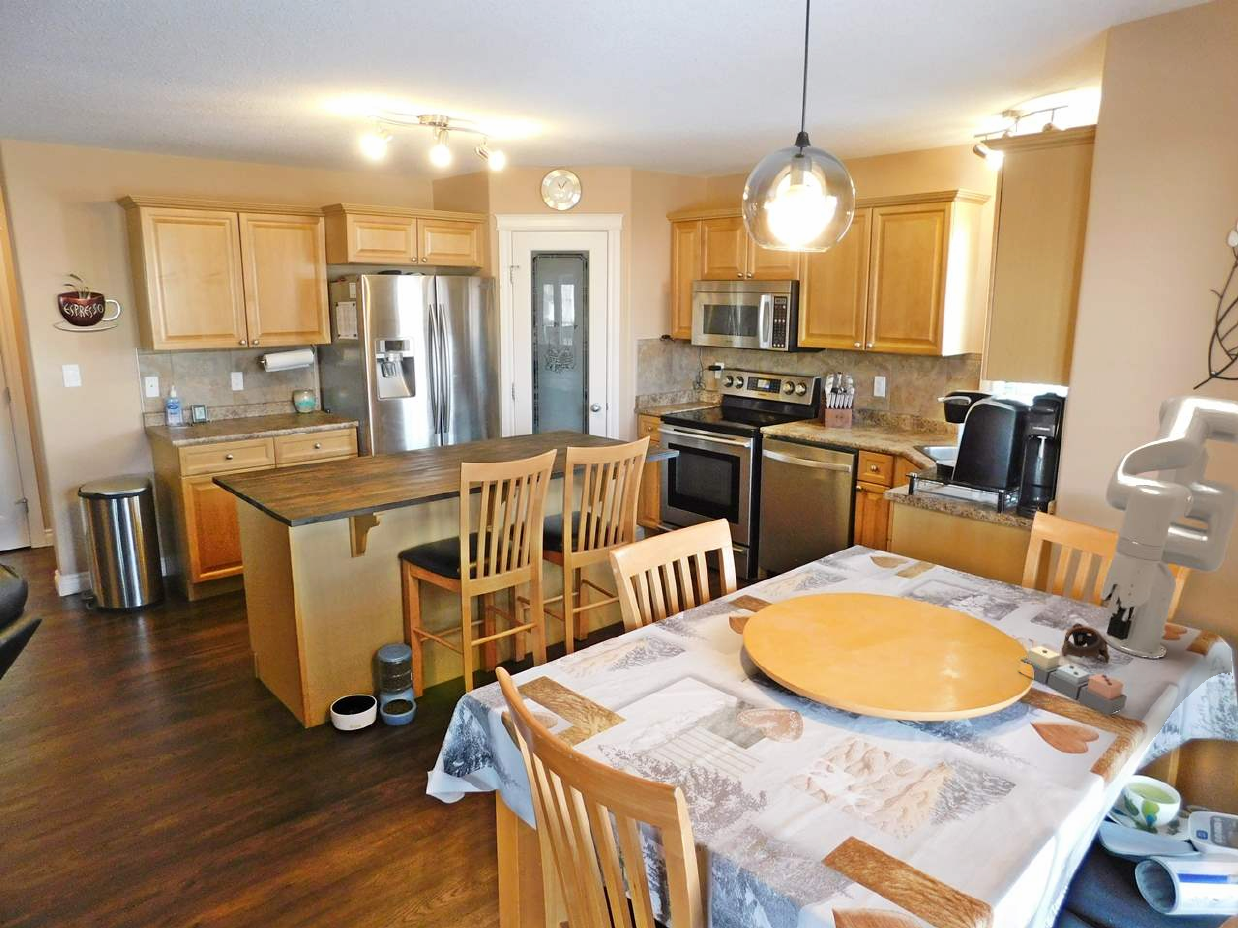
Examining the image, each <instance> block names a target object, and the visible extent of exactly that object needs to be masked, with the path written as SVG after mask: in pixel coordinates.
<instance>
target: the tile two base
mask: <svg viewBox="0 0 1238 928" xmlns="http://www.w3.org/2000/svg"><path fill="white" fill-rule="evenodd" d="M1056 672H1057V671H1055V672H1052V673H1050V675H1049V680H1048V684H1046V686H1047V687H1048V688H1050V689H1052V690H1054V691H1056V692H1057V693H1058V692H1059V693H1060V694H1062V695H1064V696H1066V697H1068V698H1070V699H1072V700H1074V701H1076V700H1078V698H1079V694H1080V690H1081V688H1082V687H1085V686H1087V685H1088V683H1089V679H1090V678H1089V679H1088V681H1087V682H1084V683H1082V684H1079V685H1076V684H1074V683H1072V682H1070V681H1068V680H1066V679H1064V678H1062V677H1060V676H1058V675H1056Z"/></svg>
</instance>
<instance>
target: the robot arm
mask: <svg viewBox="0 0 1238 928" xmlns="http://www.w3.org/2000/svg"><path fill="white" fill-rule="evenodd" d="M1158 419H1159V420H1158V421H1159V423H1158V424H1159V428H1158V431H1157V433H1156V435H1155V438H1154V440H1152V441H1149V442H1146V443H1144V444H1142V445H1140V446H1137V447H1135V448H1133V449H1132V450H1130V451H1128V452H1127V453H1126V454H1125V455H1123V457H1122V458H1120V460H1119V461H1118V463H1117V464H1116V466H1115V469H1114V471H1113V472H1112V475H1111V477H1110V480H1109V482H1108V485H1107V488H1106V493H1105V498H1106V499H1105V500H1106V502H1107V504H1108V505H1109V506H1110V507H1111V508H1113V509H1115V510H1117V511H1121V512H1124V514H1123V519H1122V522H1121V527H1120V530H1119V534H1118V537H1117V541H1116V547H1115V550H1114V551H1115V554H1114V555H1113V558H1112V559H1111V562H1110V565H1109V567H1108V570H1107V572H1106V573H1107V574H1106V576H1105V578H1104V583H1103V586H1102V589H1101V592H1100V595H1099V596H1100V600H1101V601H1103V602H1108V605H1107V608H1106V611H1108V612H1109V613H1110V614H1109V615H1110V618H1109V623H1108V626H1107V630H1106V632H1105V634H1104V636H1103V638H1104V639H1105V640H1106V641H1107V643H1108V644H1107V645H1110V646H1111V647H1113V648H1115V649H1116V650H1119V651H1121V652H1123V653H1126V654H1128V653H1129V654H1128V655H1132V654H1133V655H1132V656H1135V655H1138V656H1137V657H1139V656H1147V657H1157V656H1162V655H1164V654H1165V653H1166V654H1167V650H1166V647H1164V645H1162V644H1161V642H1162V637H1163V636H1165V635H1166V634H1167V631H1166V629H1165V626H1166V622H1167V619H1168V616H1169V613H1170V608H1171V605H1172V601H1173V598H1174V594H1175V590H1176V586H1177V580H1176V577H1175V575H1174V573H1173V571H1172V569H1171V568H1170V566H1169V565H1173V566H1178V567H1182V568H1185V569H1190V570H1192V571H1193V570H1194V571H1198V572H1202V573H1208V574H1211V573H1215V572H1216V571H1219V569H1220V568H1221V566H1222V565H1223V563H1224V559H1225V556H1226V554H1227V550H1228V546H1229V542H1230V538H1231V535H1232V532H1233V529H1234V525H1235V521H1236V517H1237V513H1238V489H1237V488H1236V487H1235V486H1232V485H1231V484H1229V483H1225V482H1221V481H1216V480H1210V479H1206V478H1205V475H1206V474H1205V473H1206V471H1207V467H1208V463H1209V459H1210V458H1209V456H1210V455H1209V453H1208V451H1207V449H1206V447H1205V444H1206V443H1207V440H1212V441H1219V442H1225V443H1230V444H1233V445H1234V444H1236V445H1238V400H1232V399H1225V398H1217V397H1212V396H1211V397H1210V396H1204V395H1198V394H1194V395H1193V394H1186V395H1180V396H1169V397H1167V398H1164V400H1163V401H1162V402H1161V403H1160V406H1159V411H1158ZM1156 471H1158V473H1157V477H1156V478H1151V477H1146V476H1144V475H1143V476H1142V475H1140V474H1142V473H1148V472H1156ZM1183 519H1187V520H1191V521H1197V522H1201V523H1203V524H1205V525H1206V527H1207V528H1203V527H1198V526H1193V525H1188V524H1185V523H1181V522H1178V521H1181V520H1183ZM1162 649H1163V650H1162Z"/></svg>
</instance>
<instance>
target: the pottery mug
mask: <svg viewBox="0 0 1238 928" xmlns="http://www.w3.org/2000/svg"><path fill="white" fill-rule="evenodd" d="M1064 635H1065V636H1064V640H1063V644H1062V647H1061V652H1062V655H1063V656H1064V657H1065V656H1066V655H1068V656H1072V657H1077V658H1083V657H1084V658H1090V657H1096V658H1098V659H1100V656H1102V657H1103V658H1104V660H1105V662H1106V663H1107V664H1108V663H1109V661H1110V654H1109V652H1108V650H1109V647H1108V645H1109V644H1108V643H1107V641H1106V640H1105V639H1104V636H1103V635H1101V634H1100V632H1099V631H1098V630H1097V629H1094V628H1093V627H1090V626H1084V625H1083V624H1081V623H1075V624H1073V625H1072V628H1070V629H1069V630H1067V632H1066V633H1065V634H1064ZM1071 636H1072V638H1073V643H1072V641H1071V640H1069V639H1070V637H1071ZM1085 645H1086V646H1085Z"/></svg>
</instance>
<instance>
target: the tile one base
mask: <svg viewBox="0 0 1238 928" xmlns="http://www.w3.org/2000/svg"><path fill="white" fill-rule="evenodd" d="M1027 657H1028V656H1026V657H1023V658H1020V661H1022V662H1024V663H1027V664H1030V665H1032V667H1033V669H1034V679H1033V680H1034V681H1036V682H1038V683H1040V684H1042V685H1044V686H1045V685H1046V686H1047V684H1048V680H1049V675H1050V673H1052V672H1055V671H1057V668H1059V667H1062V666H1063V665H1061V664H1059V663H1058V667H1055V668H1052V669H1049V670H1045V669H1043V668H1041V667H1039V666H1037V665H1035V664H1032V663H1030V662H1028V661H1026V660H1027Z"/></svg>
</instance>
